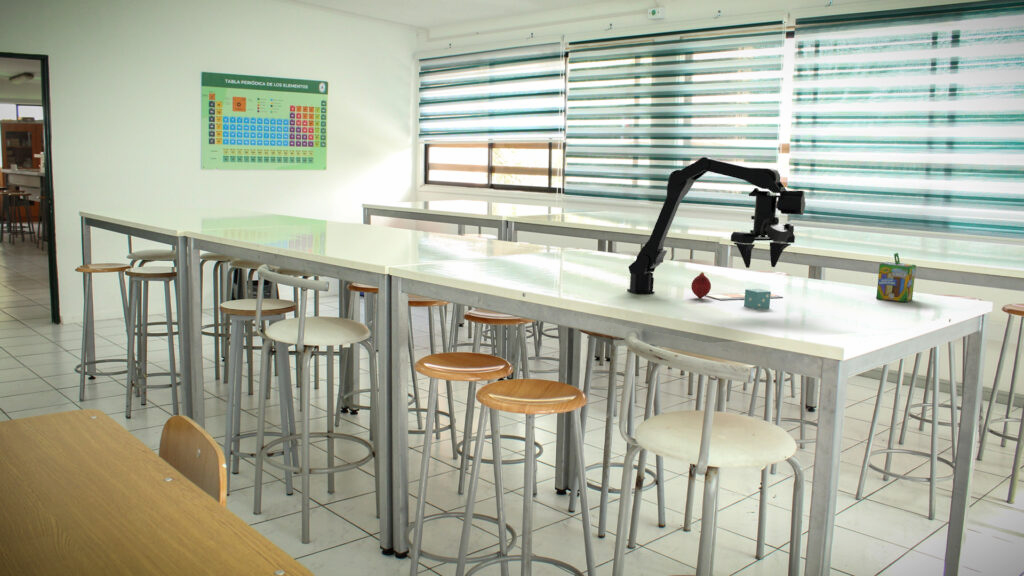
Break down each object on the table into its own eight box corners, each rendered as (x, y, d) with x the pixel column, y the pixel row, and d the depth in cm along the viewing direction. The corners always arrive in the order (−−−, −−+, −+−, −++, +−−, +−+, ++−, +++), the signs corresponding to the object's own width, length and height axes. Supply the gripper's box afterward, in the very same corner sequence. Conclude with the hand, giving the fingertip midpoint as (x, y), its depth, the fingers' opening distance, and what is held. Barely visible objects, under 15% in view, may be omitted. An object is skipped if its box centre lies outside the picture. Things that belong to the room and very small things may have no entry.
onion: (710, 300, 237) (712, 274, 236) (690, 299, 238) (692, 272, 237) (709, 297, 243) (711, 271, 242) (690, 296, 244) (692, 270, 243)
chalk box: (906, 303, 247) (911, 256, 245) (875, 299, 253) (880, 253, 250) (913, 299, 254) (918, 254, 252) (882, 296, 260) (888, 251, 257)
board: (720, 300, 238) (720, 299, 238) (702, 295, 246) (702, 294, 246) (782, 297, 247) (782, 296, 247) (763, 293, 256) (763, 291, 256)
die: (755, 309, 226) (756, 292, 225) (743, 306, 230) (745, 289, 230) (769, 308, 228) (771, 291, 227) (757, 305, 232) (759, 288, 232)
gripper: (758, 214, 214) (753, 272, 216) (811, 215, 221) (806, 270, 224) (731, 212, 224) (727, 266, 226) (783, 212, 231) (778, 265, 234)
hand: (760, 267), depth 227 cm, fingers open, 9 cm apart
